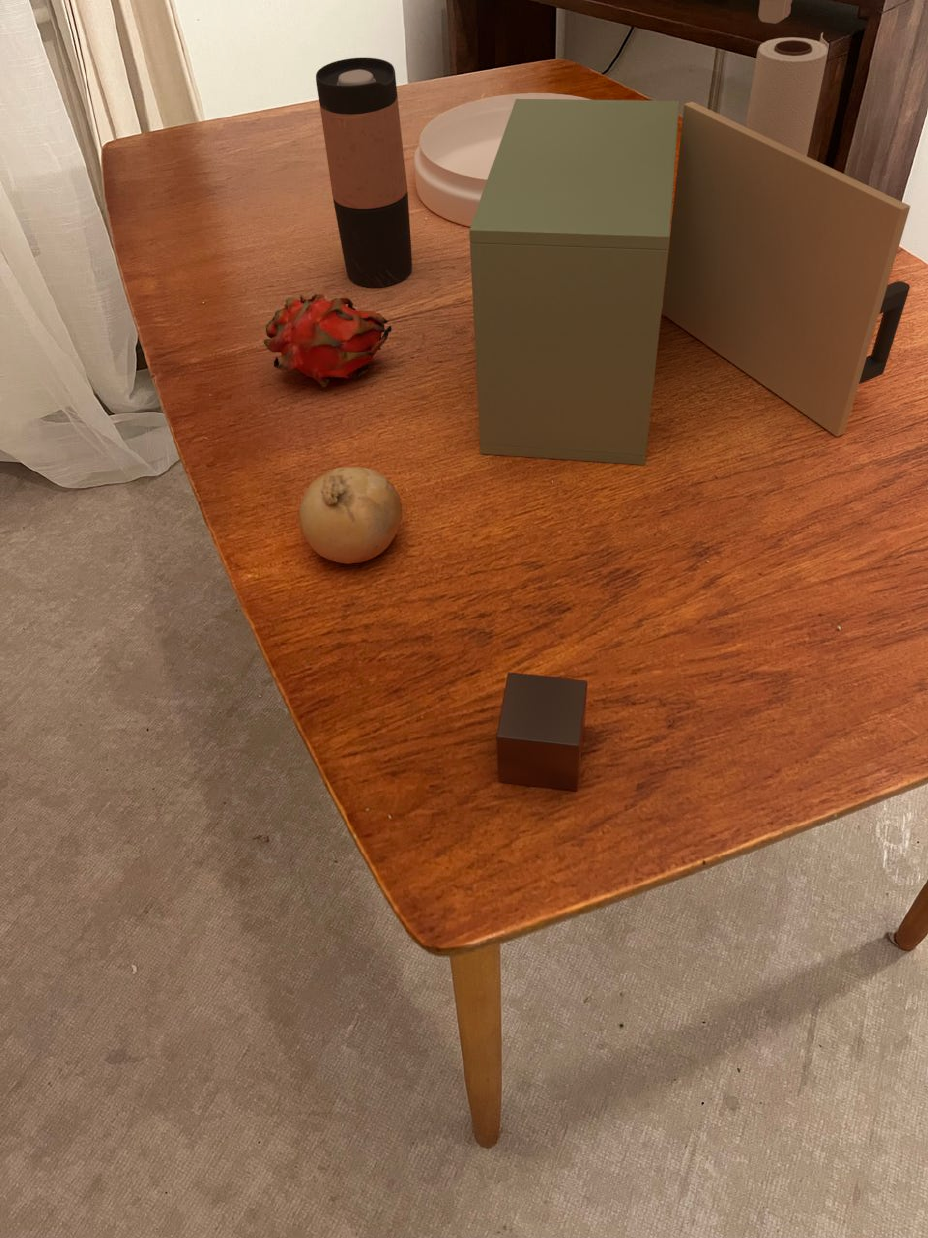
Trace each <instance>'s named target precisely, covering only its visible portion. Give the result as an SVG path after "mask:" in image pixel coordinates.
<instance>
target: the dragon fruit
mask: <svg viewBox="0 0 928 1238" xmlns="http://www.w3.org/2000/svg"><path fill="white" fill-rule="evenodd" d="M353 305H354V303H353V301H352V300H351V298H349V297H340V298H338V297H333V299H331V300H326V298H325V295H324V294H323V293H315V294H313V295H312V296H311V298H308V299H306V297H304V295H302V294H299V299H298V298H296V297H295V296H294V297H288V298H287V299H285V304H284V307H283V308H281V309H277V310H276V311H275V313H274V316H273V317H272V319H271V320H270V321H268V323H265V334H266V336H267V337H268V338H266V339H264V340H263V341H262V343H263V344H264V346H265V347H266V349H267V351H269V352H271V353H280V354H281V356H280V360H279V358H278V356H276V357H275V359H274V360H273V368H276V369H278V370H280V371H287V372H290V371H293V370H294V369H297V370H298V371H300V372H301V373H302V374H304V375H305V377H306V378H312V379H314V380H315V381H316V383H318V384H319V385H320V388H326V387H328V386H329V382H330V379H328V378H344V379H353V380H355V379H357V378H359V377H361V376H363V375H364V374H366V373H367V372H369V371H371V369H372V368H373V366H372V365H366V364H368V363H370V362H371V361H372V360H373V358H374V356H375V355H376V353H377V352H378V351H380V350H381V347H382V346H383V344H385V343H386V341H387V339H388V337H389V334H390V333H391V332H392V329H393V328H392V325H388V327H386V328H385V324H387V323H388V322H389V321H388V319H386V318H384V316H383V315H381V314H380V312H376V311H372V310H356V308H355V307H353ZM365 365H366V366H365Z"/></svg>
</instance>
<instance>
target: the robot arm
mask: <svg viewBox="0 0 928 1238" xmlns="http://www.w3.org/2000/svg"><path fill="white" fill-rule="evenodd" d="M792 2H793V0H759V6H758V14H757V16H758V19H759V21H760V22H761V23H767V24H773V25H776V24H779V23H781V22H782V21H784V20H785V19H786V18H788V17H789V15H790V14H791V12H792V11H791V10H792V6H791V5H792Z"/></svg>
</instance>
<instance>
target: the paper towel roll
mask: <svg viewBox="0 0 928 1238" xmlns="http://www.w3.org/2000/svg"><path fill="white" fill-rule="evenodd" d="M823 35H824V32H821V33H820V37H819V41H818V40H815V39H811V38H806V37H795V36H794V37H793V36H789V37H777V38H773V39H768V40H766V41H764V42H762V43H760V45H759V46H758V47H757V51H756V58H755V64H754V71H753V76H752V77H753V78H752V83H751V84H752V85H751V91H750V97H749V103H748V110H747V116H746V122H745V127H746V128H748V129H751V130H753V131H755V132H757V133H759V134H761V135H763V136H765V137H767V138H769V139H771V140H773V141H776V142H778V143H780V144H782V145H784V146H786V147H788V148H790V149H792V150H794V151H796V152H799V153H801V154H803V155H805V156H807V157H808V152H809V149H810V148H809V147H810V143H811V138H812V133H813V128H814V124H815V123H814V122H815V119H816V113H817V108H818V105H819V99H820V93H821V88H822V84H823V78H824V74H825V68H826V63H827V59H828V53H829V46H830V44H829V43H828V42H827V41H826V40H825V39H824V38H823Z"/></svg>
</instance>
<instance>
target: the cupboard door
mask: <svg viewBox="0 0 928 1238" xmlns="http://www.w3.org/2000/svg"><path fill="white" fill-rule="evenodd" d="M677 156H678V158H677V166H676V174H675V175H676V176H675V184H674V192H673V194H674V195H673V201H672V211H671V224H670V237H669V246H668V256H667V265H666V274H665V284H664V293H663V302H662V312H661V315H663V316H664V317H666V318H667V319H668V320H670V321H672V322H673V323H674V324H676V325H677V326H679V327H680V328H681V329H682V330H684V331H686V333H688V334H690V336H693V337H694V338H696V339H697V340H698V341H700V342H701V343H703V345H706V347H708V348H710V349H711V350H713V351H714V352H715V353H717V354H718V355H720V356H721V357H723V358H724V359H725V360H727V361H728V362H730V363H731V364H732V365H734V366H736V367H737V368H738V369H740V370H741V371H743V372H744V373H745V374H747V375H748V376H749V377H751V378H753V379H754V380H755V381H757V382H758V383H760V384H761V385H762V386H763V387H765V388H767V389H768V390H770V391H771V392H772V393H774V394H775V395H776V396H778V397H779V398H781V399H782V400H784V401H785V402H787V403H788V404H789V405H791V406H793V407H794V408H795V409H796V410H798V411H799V412H801V413H802V414H804V415H805V416H806V417H808V418H810V419H811V420H812V421H814V422H815V423H817V424H818V425H820V426H821V427H822V428H824V429H825V430H826V431H828V432H829V433H831V434H832V435H834V436H835V437H836V438H837V437H840V436H842V435H844V434H845V433H846V430H847V428H848V427H847V426H848V423H849V420H850V416H851V413H852V410H853V406H854V402H855V400H856V395H857V392H858V389H859V386H860V385H861V384H862V385H863V384H864V383H866V382H868V381H871V380H873V379H875V378H878V377H879V376H882V375H883V374H884V373H885V369H886V367H887V363H888V360H889V357H890V354H891V350H892V347H893V344H894V340H895V337H896V334H897V331H898V328H899V325H900V320H901V318H902V315H903V312H904V308H905V306H906V301H907V298H908V295H909V292H910V288H911V286H910V284H909V283H907V282H905V281H897V280H896V281H894V282H891V283H890V278H891V274H892V272H893V267H894V266H895V265H894V264H895V262H896V258H897V255H898V250H899V248H900V243H901V241H902V237H903V233H904V230H905V227H906V223H907V220H908V217H909V213H910V209H911V205H910V204H907V203H905V202H903V201H901V200H900V199H899V200H898V199H897V198H894V197H892V196H891V195H888V194H887V193H884V192H883V191H880V190H878V189H875V188H873V187H871V186H869V185H867V184H865V183H863V182H861V181H859V180H857V179H855V178H853V177H851V176H849V175H846V174H844V173H842V172H841V171H838V170H836V169H834V168H832V167H830V166H828V165H826V164H823V163H821V162H820V161H817V160H815V159H813V158H811V157H809V156H808V155H807V156H805V155H803V154H801V153H799V152H796V151H794V150H792V149H790V148H788V147H786V146H784V145H782V144H780V143H778V142H776V141H773V140H771V139H769V138H767V137H765V136H763V135H761V134H759V133H757V132H755V131H753V130H751V129H748V128H746V126H744V125H743V124H741V123H738V122H735V121H734V120H732V119H730V118H728V117H726V116H724V115H721V114H720V113H717V112H715V111H713V110H711V109H709V108H706V107H704V106H702V105H701V104H698V103H696V102H694V101H689V102H686V103H684V104H683V109H682V120H681V128H680V139H679V147H678V155H677ZM880 315H881V318H880V322H879V326H878V330H877V333H876V336H875V340H874V343H873V346H872V349H871V353H870V355H868V354H869V351H870V348H871V344H872V341H873V338H874V337H873V336H874V334H875V330H876V328H877V327H876V326H877V323H878V320H879V316H880Z"/></svg>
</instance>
